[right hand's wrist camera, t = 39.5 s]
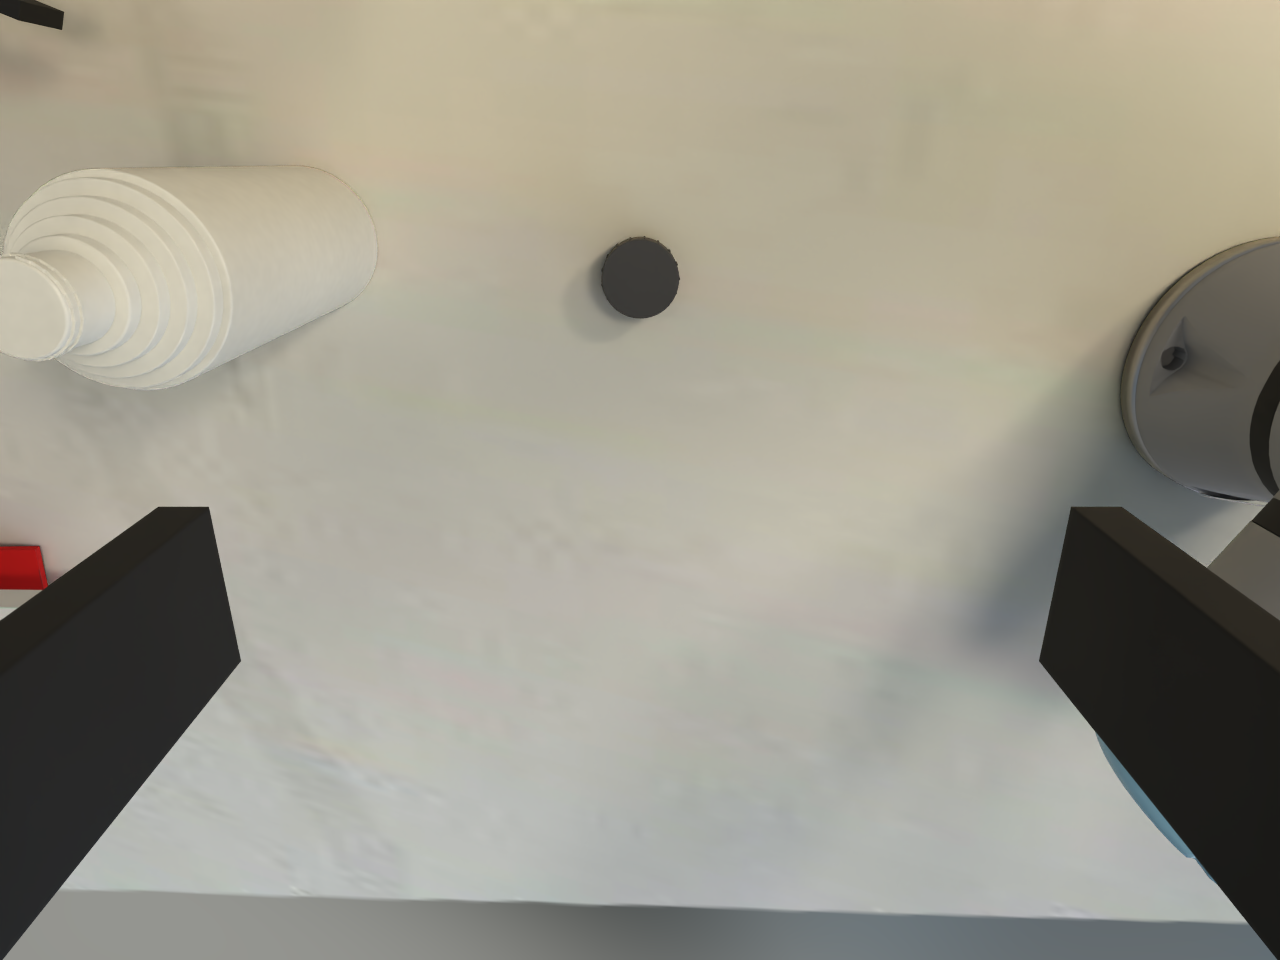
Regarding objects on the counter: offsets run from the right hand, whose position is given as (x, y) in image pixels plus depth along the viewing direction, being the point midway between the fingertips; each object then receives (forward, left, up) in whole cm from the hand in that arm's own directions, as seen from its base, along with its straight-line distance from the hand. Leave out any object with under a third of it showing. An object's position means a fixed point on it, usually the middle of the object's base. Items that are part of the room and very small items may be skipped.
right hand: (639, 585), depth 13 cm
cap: (0, 0, -35) cm, 35 cm away
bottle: (+14, -12, -37) cm, 41 cm away
